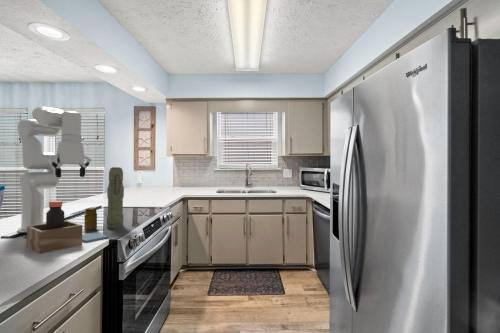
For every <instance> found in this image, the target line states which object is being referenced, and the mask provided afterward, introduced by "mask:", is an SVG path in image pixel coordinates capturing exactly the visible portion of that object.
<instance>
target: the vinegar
mask: <svg viewBox="0 0 500 333" xmlns="http://www.w3.org/2000/svg"><path fill="white" fill-rule="evenodd" d="M48 208H49V210H47V212H46V213H45V214H46V216H45V217H46V219H45V220H46V221H45V222H46V223H45V224H46V230H51V229H58V228H64V221H65V211H64V210H63V209H62V208H63V201H62V200H51V201H48Z"/></svg>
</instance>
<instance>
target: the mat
mask: <svg viewBox="0 0 500 333" xmlns="http://www.w3.org/2000/svg"><path fill="white" fill-rule="evenodd" d="M108 238H109V236H108V235H106V234H102V233H101V232H98V231H93V232H90V233H85V234H82V243H91V242H95V241H101V240H105V239H108Z"/></svg>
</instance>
